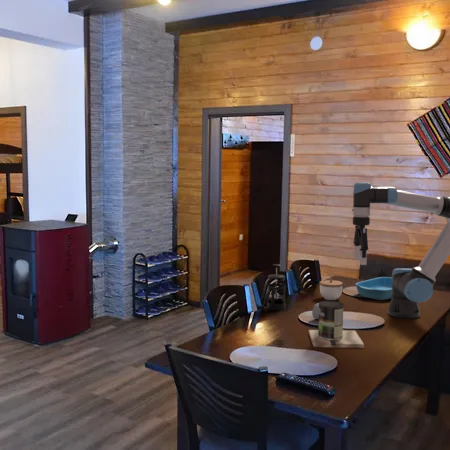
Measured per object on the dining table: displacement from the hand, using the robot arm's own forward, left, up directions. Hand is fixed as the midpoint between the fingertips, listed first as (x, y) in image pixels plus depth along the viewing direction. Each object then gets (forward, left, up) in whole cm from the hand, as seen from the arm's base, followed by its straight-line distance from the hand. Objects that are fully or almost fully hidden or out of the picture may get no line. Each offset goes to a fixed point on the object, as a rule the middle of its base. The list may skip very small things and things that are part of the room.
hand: (360, 262), depth 241 cm
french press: (+37, -25, -29) cm, 53 cm away
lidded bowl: (+6, -46, -29) cm, 55 cm away
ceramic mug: (+15, -5, -29) cm, 33 cm away
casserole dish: (-26, -57, -29) cm, 69 cm away
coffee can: (+17, +26, -27) cm, 41 cm away
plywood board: (+15, +26, -29) cm, 42 cm away
